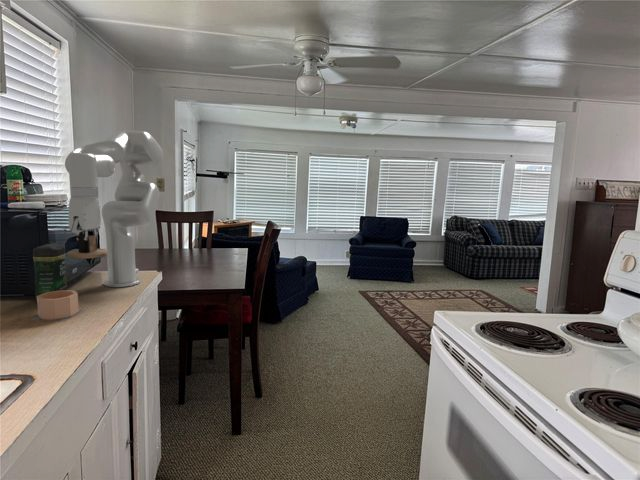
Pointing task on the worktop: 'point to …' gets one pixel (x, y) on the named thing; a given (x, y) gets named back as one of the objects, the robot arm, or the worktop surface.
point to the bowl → (57, 304)
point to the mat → (59, 319)
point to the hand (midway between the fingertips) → (87, 250)
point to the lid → (91, 254)
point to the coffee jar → (49, 268)
